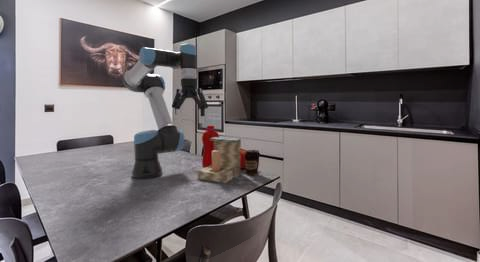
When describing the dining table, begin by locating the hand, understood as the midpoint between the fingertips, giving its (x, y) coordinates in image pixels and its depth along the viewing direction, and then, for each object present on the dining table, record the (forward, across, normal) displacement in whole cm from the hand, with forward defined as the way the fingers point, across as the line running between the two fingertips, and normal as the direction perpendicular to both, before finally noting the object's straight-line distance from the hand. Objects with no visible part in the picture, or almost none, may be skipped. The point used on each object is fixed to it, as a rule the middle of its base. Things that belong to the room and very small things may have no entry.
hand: (189, 122), depth 115 cm
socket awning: (+29, +10, +12) cm, 33 cm away
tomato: (+29, +12, +31) cm, 44 cm away
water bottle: (+29, -6, +26) cm, 39 cm away
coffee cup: (+29, +24, +22) cm, 44 cm away
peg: (+29, +10, +8) cm, 31 cm away
